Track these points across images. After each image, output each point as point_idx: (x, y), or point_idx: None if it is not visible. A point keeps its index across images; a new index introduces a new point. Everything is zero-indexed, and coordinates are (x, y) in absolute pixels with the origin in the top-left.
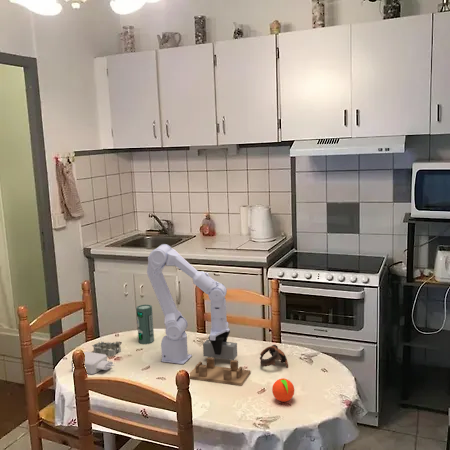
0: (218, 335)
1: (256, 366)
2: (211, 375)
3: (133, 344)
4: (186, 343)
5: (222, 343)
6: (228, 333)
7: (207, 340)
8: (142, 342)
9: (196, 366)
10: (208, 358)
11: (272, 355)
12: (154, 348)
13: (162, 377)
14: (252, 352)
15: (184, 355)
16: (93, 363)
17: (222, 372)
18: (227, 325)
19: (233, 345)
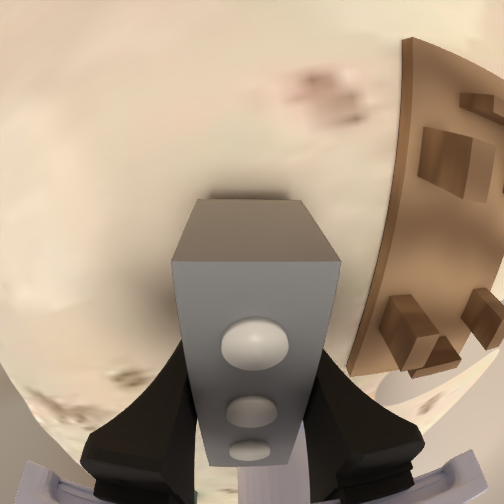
0: (367, 498)
1: (278, 9)
2: (477, 269)
3: (207, 497)
4: (285, 489)
5: (248, 394)
6: (153, 454)
7: (221, 463)
8: (196, 496)
9: (458, 362)
10: (420, 360)
11: None
12: (210, 480)
13: (425, 406)
14: (38, 136)
15: (300, 443)
16: None
17: (456, 225)
18: (42, 489)
19: (284, 277)
